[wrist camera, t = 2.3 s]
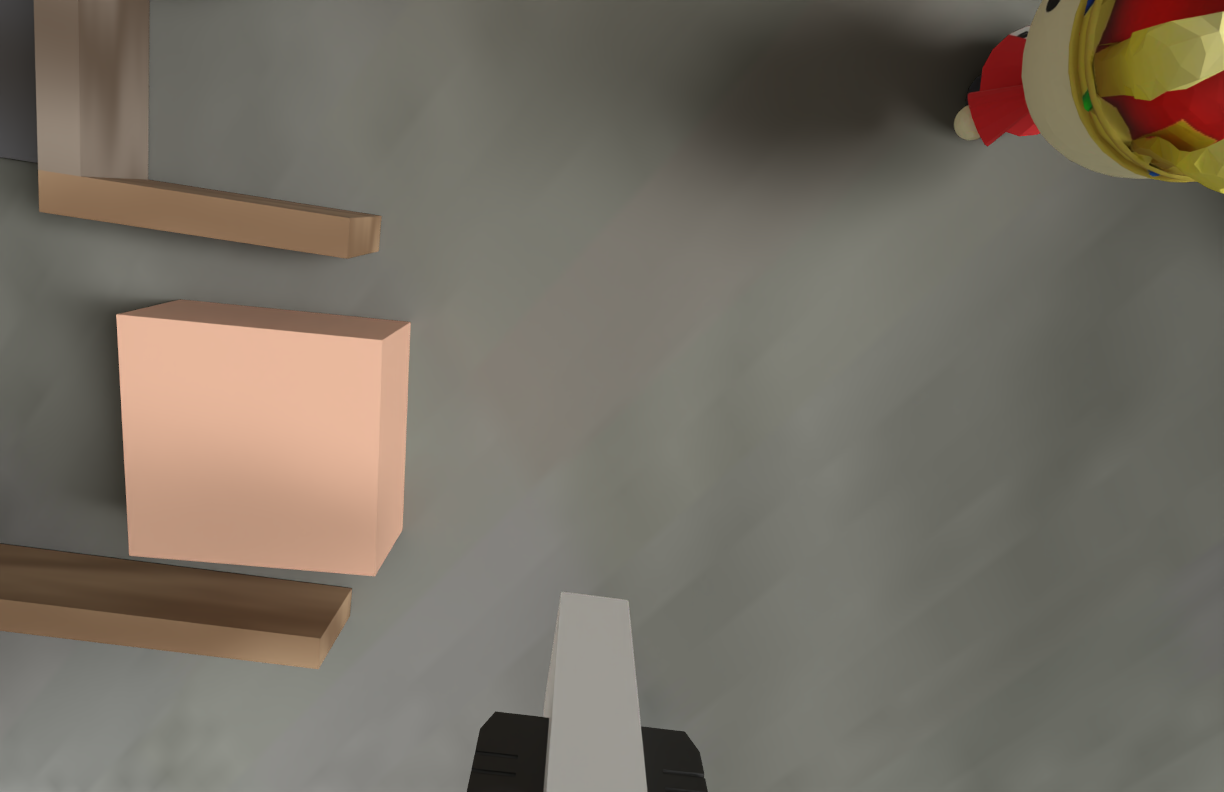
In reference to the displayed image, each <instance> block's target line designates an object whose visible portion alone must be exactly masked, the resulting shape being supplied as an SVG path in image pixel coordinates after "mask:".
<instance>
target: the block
mask: <svg viewBox="0 0 1224 792" xmlns="http://www.w3.org/2000/svg"><path fill="white" fill-rule="evenodd" d="M116 318H117V336H118V355H119V374H120V392H121V411H122V429H123V448H124V466H125V485H126V503H127V522H128V541H129V556H139V557H151V558H163V559H175V560H187V561H199V562H211V563H223V564H235V565H247V566H259V567H271V568H283V569H295V570H307V571H319V572H331V573H343V574H355V575H367V576H375V575H376V574H377V572H378V570H379V568H380V567H381V565H382V563H383V562H384V560H385V558H386V557H387V555H388V553H389V552H390V550H391V548H392V546H393V545H394V543H395V541H396V540H397V538H398V536H399V535H400V533H401V531H402V526H403V501H404V475H405V450H406V424H407V399H408V373H409V348H410V322H405V321H395V320H385V319H374V318H364V317H354V316H344V315H334V314H323V313H313V312H303V311H293V310H283V309H273V308H262V307H252V306H242V305H232V304H222V303H211V302H201V301H191V300H181V299H180V300H176V301H172V302H167V303H163V304H159V305H155V306H150V307H146V308H142V309H137V310H133V311H129V312H125V313H120V314H116Z"/></svg>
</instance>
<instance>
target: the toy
mask: <svg viewBox="0 0 1224 792" xmlns="http://www.w3.org/2000/svg"><path fill="white" fill-rule="evenodd" d="M966 102H967V106H965V107H964V108H963V109H962V110H960V111H959V112H958V114H957V116H956V117H955V121H954V129H955V132H956V133H957V135H958V136H960V137H961V138H963V139H965V140H975V139H979V138H981V139H982V141H983V142H984V144H985V145H986V146H989V145H990V144H991V143H993V142H994V141H995V140H996V139H997V138H999V137H1000V136H1001V135H1002V134H1004V133H1005V132H1008V133H1011V134H1014V135H1017V136H1027V135H1036V134H1039V133H1041V134H1042V135H1043V137H1044V138H1045V139H1046V141H1047V142H1049V143H1050V144H1051V145H1052V146H1053V147H1054V148H1055V149H1056V150H1057V151H1059V152H1060V153H1061V154H1062V155H1064V156H1065V157H1066V158H1068V159H1069V160H1070V161H1073V162H1075V163H1077V164H1079V165H1081V166H1083V167H1085V168H1087V169H1090V170H1092V171H1095V172H1098V173H1102V174H1106V175H1109V176H1114V177H1123V178H1136V179H1146V178H1151V179H1156V180H1162V181H1167V182H1199V183H1200V184H1202V185H1204V186H1205V187H1207V188H1209V189H1212V190H1214V191H1217V192H1220V193H1223V194H1224V0H1043V1H1042V2H1041V4H1040V6H1039V8H1038V10H1037V12H1036V14H1035V16H1034V19H1033V21H1032V23H1031V26H1026V27H1024V28H1022V29H1020V30H1017V31H1015V32H1013V33H1011V34H1009V35H1008V36H1007V37H1006V38H1004V39H1003V40H1002V41H1001V42H1000V43H999V44H998V45H997V46H996V47H995V48H994V49H993V50H992V52H991V53H990V55H989V57H988V59H987V61H986V63H985V64H984V66H983V69H982V74H981V75H980V76H978V77H977V78H976V79H975V80H974V82H973V83H972V85H971V86H970V88H969V90H968V94H967V98H966Z"/></svg>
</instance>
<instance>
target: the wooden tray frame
mask: <svg viewBox="0 0 1224 792" xmlns="http://www.w3.org/2000/svg"><path fill="white" fill-rule="evenodd" d="M148 142H149V0H0V157H4V158H10V159H17V160H23V161H29V162H36V163H38V183H39V212H44V213H51V214H57V215H64V216H71V217H77V218H84V219H90V220H97V221H103V222H110V223H117V224H123V225H130V226H136V227H143V228H149V229H156V230H163V231H169V232H176V233H182V234H189V235H195V236H202V237H209V238H215V239H222V240H228V241H235V242H241V243H248V244H255V245H261V246H268V247H274V248H281V249H287V250H294V251H301V252H307V253H314V254H320V255H327V256H333V257H340V258H352V257H356V256H360V255H364V254H369V253H373V252H377V251H379V241H380V228H381V216H378V215H372V214H365V213H359V212H353V211H346V210H340V209H333V208H327V207H321V206H314V205H308V204H301V203H295V202H288V201H282V200H276V199H269V198H263V197H256V196H250V195H244V194H237V193H231V192H224V191H218V190H211V189H205V188H199V187H192V186H186V185H179V184H173V183H167V182H160V181H154V180H148ZM351 594H352V588H344V587H337V586H329V585H321V584H313V583H305V582H297V581H289V580H281V579H274V578H266V577H258V576H250V575H242V574H234V573H226V572H219V571H211V570H203V569H195V568H187V567H179V566H171V565H164V564H156V563H148V562H140V561H132V560H124V559H116V558H109V557H101V556H93V555H85V554H77V553H69V552H61V551H54V550H46V549H38V548H30V547H22V546H14V545H6V544H0V631H7V632H15V633H24V634H32V635H40V636H49V637H57V638H65V639H73V640H82V641H90V642H98V643H107V644H115V645H123V646H131V647H140V648H148V649H156V650H164V651H173V652H181V653H189V654H198V655H206V656H214V657H222V658H231V659H239V660H247V661H256V662H264V663H272V664H280V665H289V666H297V667H305V668H313V669H319V667H320V666H321V664H322V662H323V660H324V659H325V657H326V655H327V654H328V652H329V650H330V649H331V647H332V645H333V644H334V642H335V640H336V638H337V637H338V635H339V633H340V632H341V630H342V628H343V627H344V625H345V623H346V622H347V620H348V618H349V616H350V606H351Z"/></svg>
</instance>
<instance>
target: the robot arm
mask: <svg viewBox="0 0 1224 792" xmlns="http://www.w3.org/2000/svg"><path fill="white" fill-rule="evenodd" d="M467 792H708V791H707V786H706V781H705V778H704V771H703V766H702V761H701V756H700V752H699V751H698V749H697V748H696V746H695V745H694V744H693V742H692V741H691V740H690V738H689V737H688V735H687V734H686V733H685V732H684V731H675V730H666V729H658V728H649V727H641V722H640V712H639V702H638V692H637V682H636V672H635V662H634V652H633V642H632V632H631V622H630V612H629V601H628V600H623V599H615V598H608V597H600V596H592V595H584V594H576V593H568V592H561V597H560V603H559V610H558V617H557V623H556V630H555V636H554V643H553V649H552V656H551V663H550V669H549V676H548V682H547V689H546V695H545V704H544V715H543V717H537V716H529V715H520V714H511V713H503V712H495V713H494V714H493V715H492V716H491V717H490V718H489V719H488V721H487V722H486V723H485V724H484V725H483V726H482V727H481V729H480V732H479V737H478V741H477V746H476V751H475V756H474V760H473V765H472V771H471V775H470V779H469V784H468V789H467Z"/></svg>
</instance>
